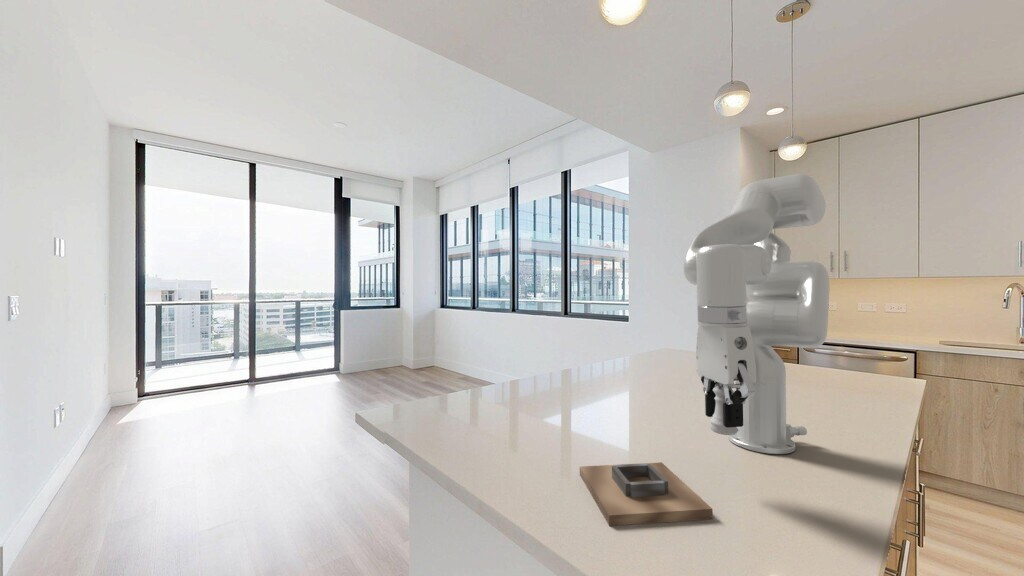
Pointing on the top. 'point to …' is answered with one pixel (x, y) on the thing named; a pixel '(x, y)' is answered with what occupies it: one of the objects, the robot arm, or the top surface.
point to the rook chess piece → (720, 413)
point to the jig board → (642, 494)
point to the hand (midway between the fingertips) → (723, 419)
